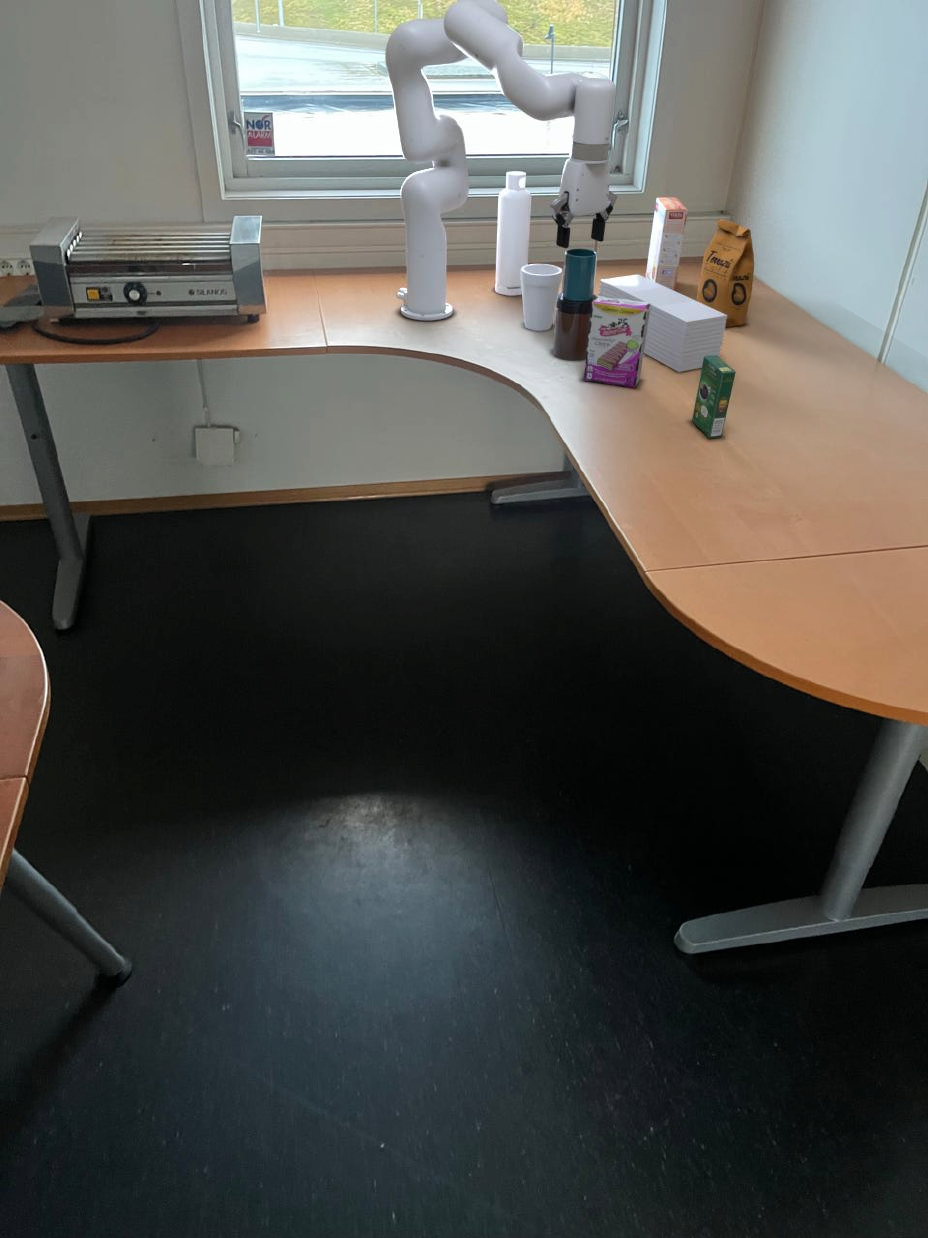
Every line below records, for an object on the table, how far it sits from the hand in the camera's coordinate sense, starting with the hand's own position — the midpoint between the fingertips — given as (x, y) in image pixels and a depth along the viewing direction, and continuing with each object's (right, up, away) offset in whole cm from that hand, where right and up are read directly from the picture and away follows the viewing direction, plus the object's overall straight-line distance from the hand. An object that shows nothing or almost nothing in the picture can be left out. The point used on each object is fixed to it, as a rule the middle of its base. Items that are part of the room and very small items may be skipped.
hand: (579, 243), depth 189 cm
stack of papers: (+19, -15, +19) cm, 31 cm away
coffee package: (+38, -5, +34) cm, 51 cm away
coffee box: (+22, -42, -17) cm, 51 cm away
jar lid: (0, -9, +6) cm, 11 cm away
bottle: (-12, +8, +50) cm, 52 cm away
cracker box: (+28, +11, +54) cm, 62 cm away
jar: (0, -19, +14) cm, 23 cm away
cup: (0, -9, +6) cm, 11 cm away
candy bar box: (+7, -28, +1) cm, 29 cm away
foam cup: (-6, -8, +28) cm, 30 cm away
